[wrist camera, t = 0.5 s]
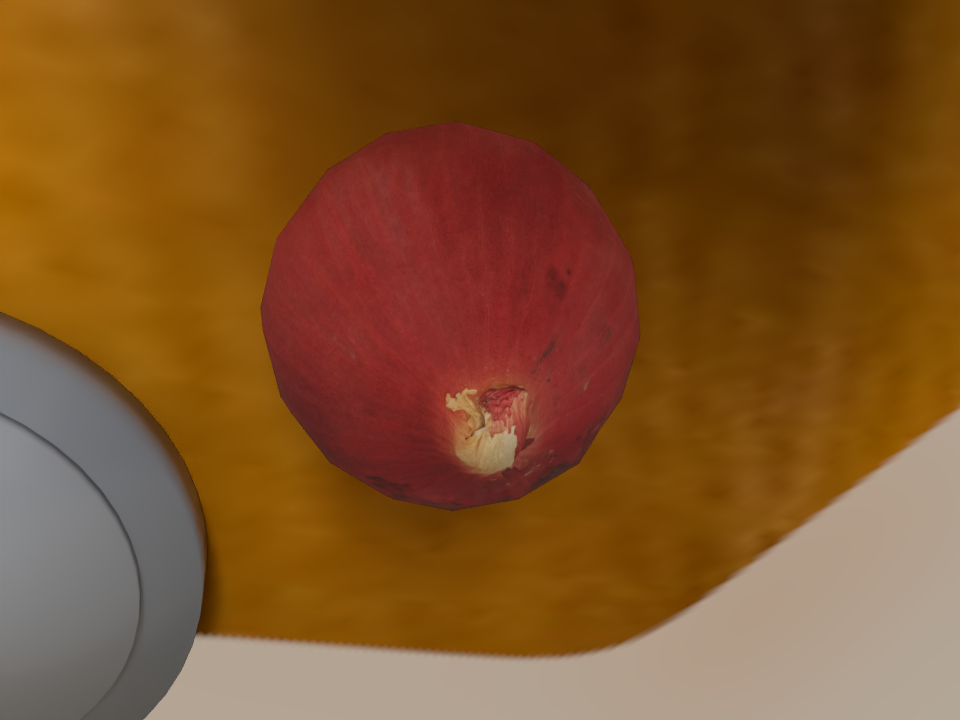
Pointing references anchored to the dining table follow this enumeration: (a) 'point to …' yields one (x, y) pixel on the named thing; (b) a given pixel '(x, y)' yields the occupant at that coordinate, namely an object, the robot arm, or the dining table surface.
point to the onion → (451, 316)
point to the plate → (89, 540)
